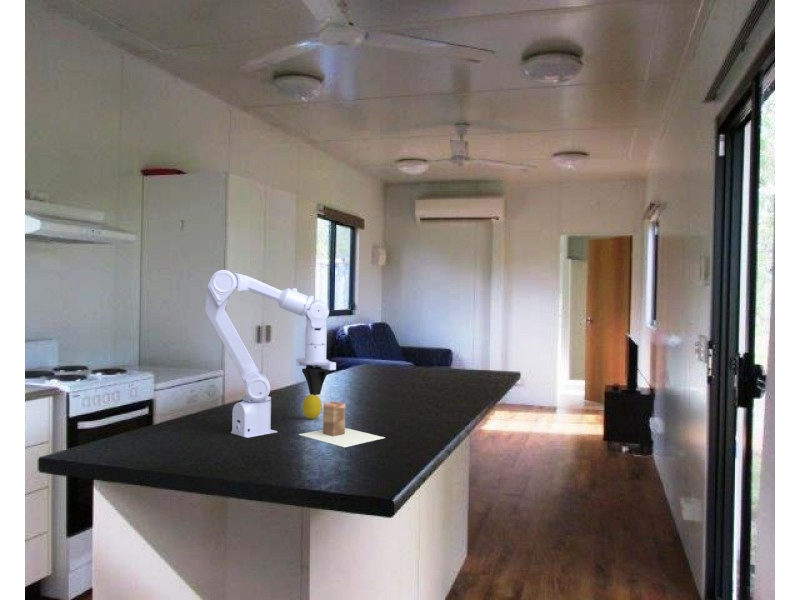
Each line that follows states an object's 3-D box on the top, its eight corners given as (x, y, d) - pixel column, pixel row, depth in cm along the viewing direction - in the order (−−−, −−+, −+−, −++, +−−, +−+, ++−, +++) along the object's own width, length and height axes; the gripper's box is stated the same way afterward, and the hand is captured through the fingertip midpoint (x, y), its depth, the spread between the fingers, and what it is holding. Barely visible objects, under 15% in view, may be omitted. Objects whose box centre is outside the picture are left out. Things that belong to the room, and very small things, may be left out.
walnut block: (333, 436, 148) (333, 405, 148) (323, 433, 150) (323, 403, 150) (344, 434, 151) (345, 403, 151) (334, 431, 153) (335, 401, 153)
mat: (344, 449, 137) (344, 447, 137) (298, 436, 149) (298, 434, 149) (385, 439, 148) (385, 437, 148) (338, 428, 160) (338, 426, 160)
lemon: (323, 419, 172) (323, 392, 172) (318, 422, 166) (319, 395, 166) (305, 418, 172) (305, 391, 172) (300, 422, 167) (300, 394, 167)
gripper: (344, 345, 154) (344, 396, 154) (310, 342, 164) (309, 389, 164) (324, 346, 149) (323, 399, 149) (290, 343, 159) (289, 392, 159)
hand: (315, 394), depth 156 cm, fingers closed
